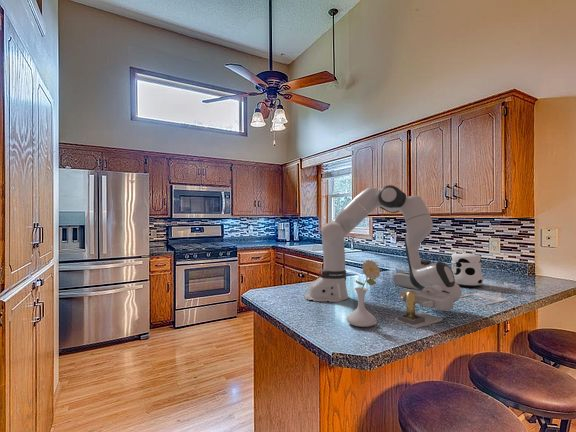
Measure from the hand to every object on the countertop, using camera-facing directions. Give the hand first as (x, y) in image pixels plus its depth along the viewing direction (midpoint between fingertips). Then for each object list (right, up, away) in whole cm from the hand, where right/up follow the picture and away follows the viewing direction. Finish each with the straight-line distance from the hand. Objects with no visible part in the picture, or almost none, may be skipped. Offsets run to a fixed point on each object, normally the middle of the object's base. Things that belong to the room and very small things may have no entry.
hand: (411, 301), depth 121 cm
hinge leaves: (+4, -8, +2) cm, 9 cm away
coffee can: (+35, -8, +70) cm, 79 cm away
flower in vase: (-19, -8, -2) cm, 21 cm away
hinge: (+21, -8, +60) cm, 64 cm away
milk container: (+58, -8, +63) cm, 86 cm away
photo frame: (+48, -8, +32) cm, 58 cm away
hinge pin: (0, -7, 0) cm, 7 cm away
